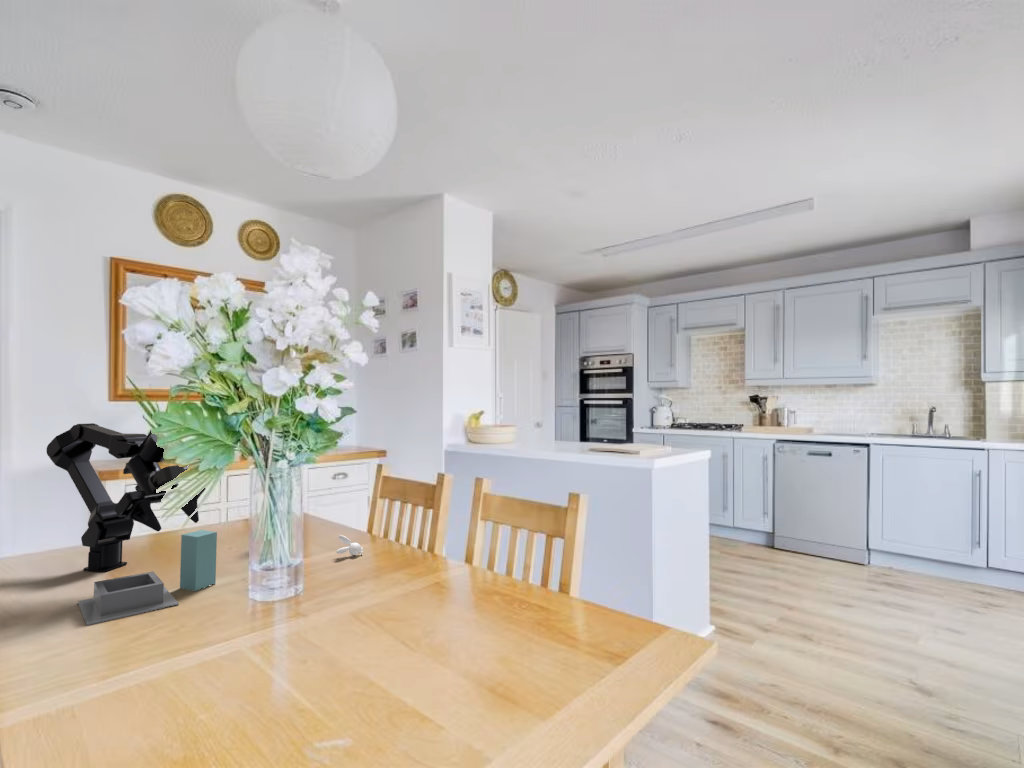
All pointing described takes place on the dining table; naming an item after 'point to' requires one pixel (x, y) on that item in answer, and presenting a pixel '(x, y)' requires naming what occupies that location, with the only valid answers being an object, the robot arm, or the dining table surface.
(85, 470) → the robot arm
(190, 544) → the teal block
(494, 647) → the dining table surface
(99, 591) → the well
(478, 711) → the dining table surface
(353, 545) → the rabbit figurine
